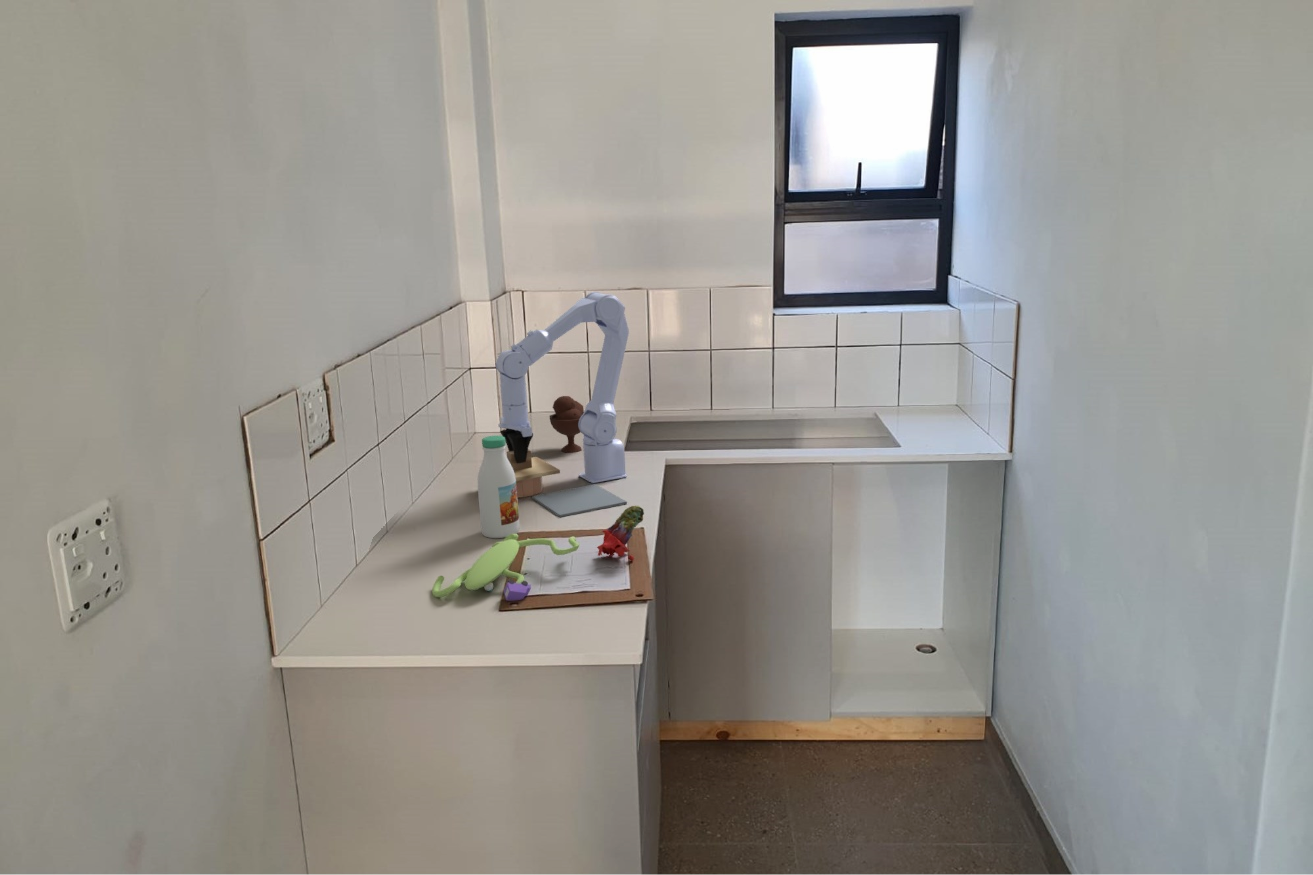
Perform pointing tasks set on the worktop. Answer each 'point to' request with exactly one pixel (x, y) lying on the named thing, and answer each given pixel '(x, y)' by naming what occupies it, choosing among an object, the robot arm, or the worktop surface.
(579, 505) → the shallow square tray
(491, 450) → the milk bottle
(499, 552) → the figurine
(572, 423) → the ice cream bowl
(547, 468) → the cover board
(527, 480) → the terracotta bowl
